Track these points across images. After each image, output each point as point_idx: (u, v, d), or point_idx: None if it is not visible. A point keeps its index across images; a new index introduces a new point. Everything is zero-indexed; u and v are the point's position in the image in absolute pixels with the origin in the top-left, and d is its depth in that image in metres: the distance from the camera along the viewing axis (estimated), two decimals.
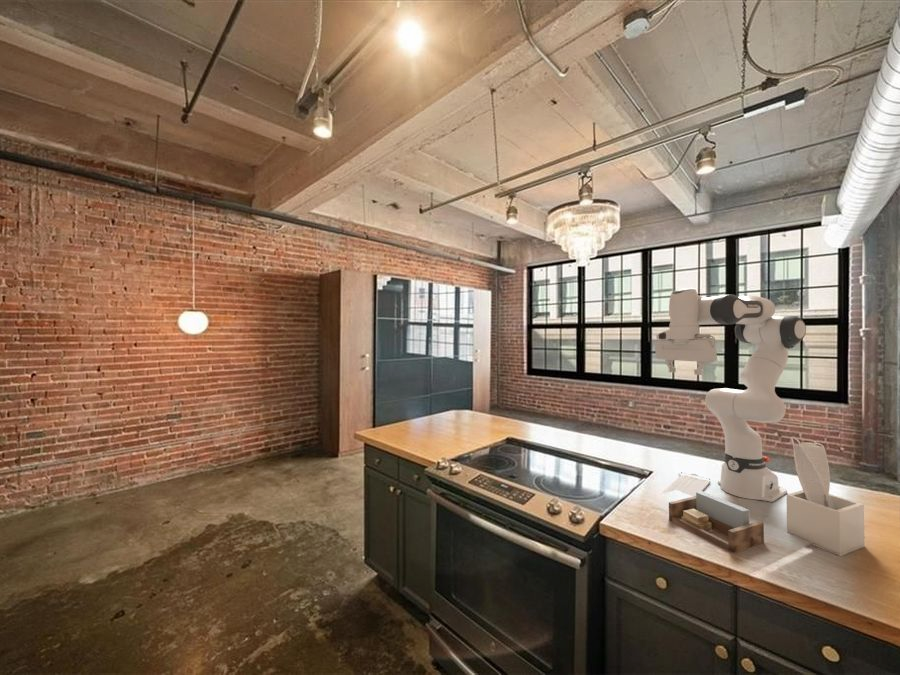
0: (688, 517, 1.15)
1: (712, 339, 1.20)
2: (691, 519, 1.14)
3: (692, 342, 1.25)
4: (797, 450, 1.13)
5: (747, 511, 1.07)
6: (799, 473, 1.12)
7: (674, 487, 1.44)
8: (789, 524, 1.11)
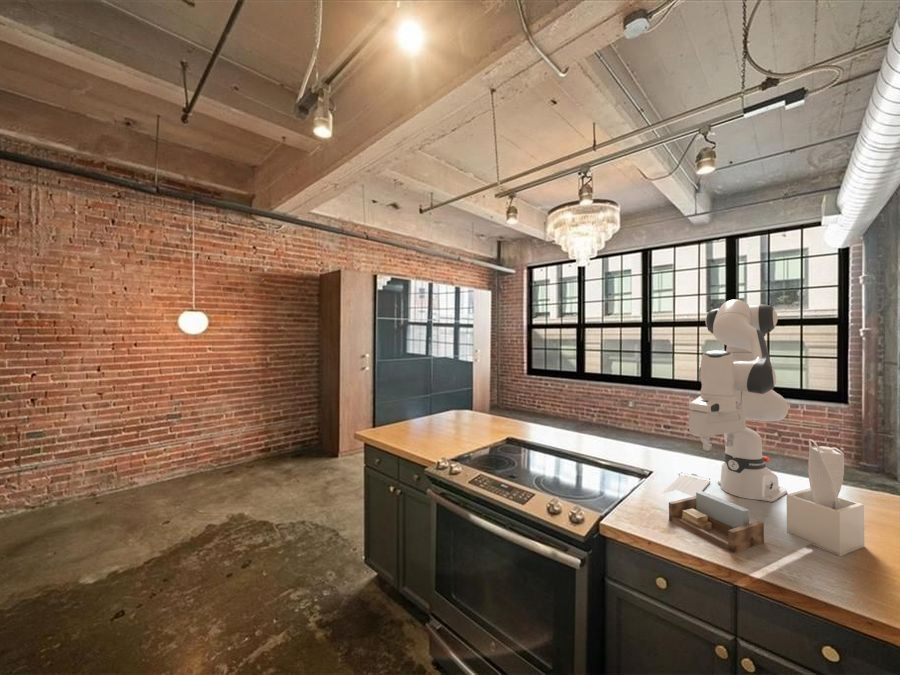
0: (687, 517, 1.15)
1: (741, 406, 1.16)
2: (690, 519, 1.14)
3: (733, 411, 1.13)
4: (813, 454, 1.09)
5: (747, 511, 1.07)
6: (811, 476, 1.09)
7: (674, 487, 1.44)
8: (789, 524, 1.11)
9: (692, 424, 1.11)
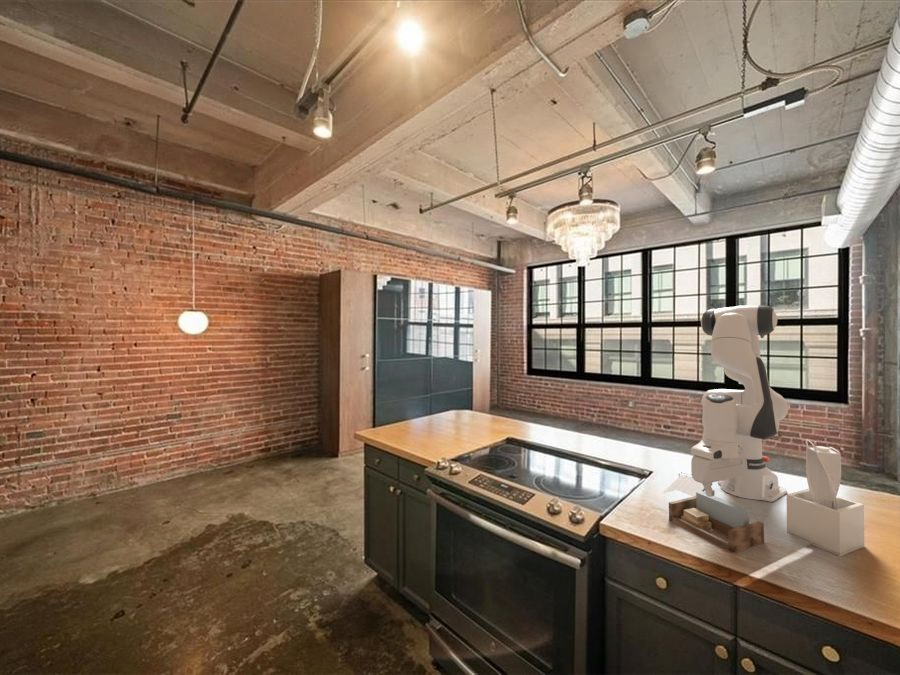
0: (688, 516, 1.15)
1: (742, 450, 1.16)
2: (691, 518, 1.14)
3: None
4: (810, 454, 1.09)
5: (747, 511, 1.07)
6: (809, 476, 1.09)
7: (674, 487, 1.44)
8: (789, 524, 1.11)
9: (695, 470, 1.10)
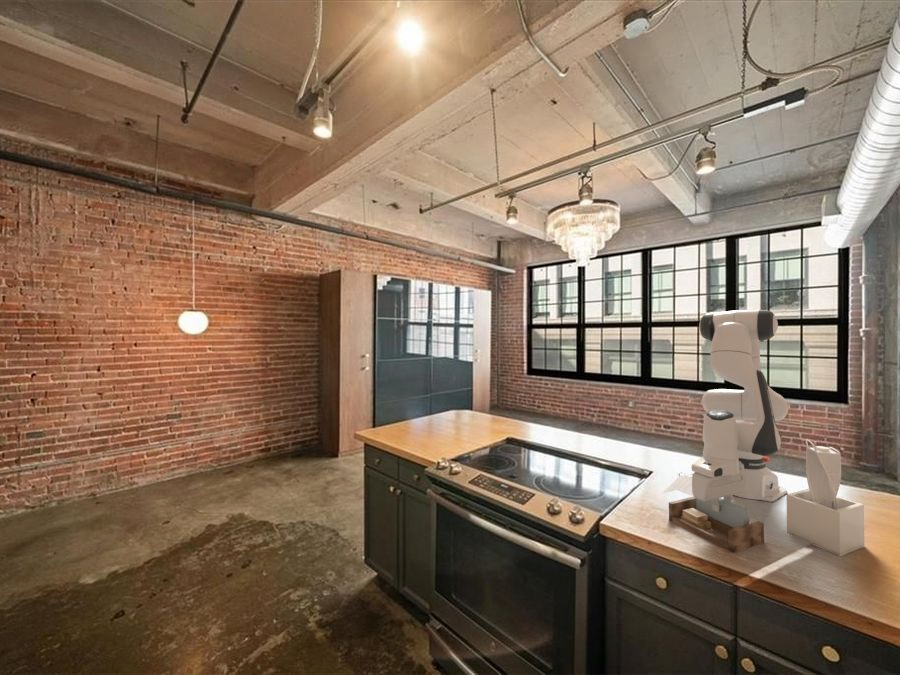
0: (687, 516, 1.15)
1: (743, 466, 1.16)
2: (690, 518, 1.14)
3: None
4: (810, 454, 1.09)
5: (747, 511, 1.07)
6: (809, 476, 1.09)
7: (674, 487, 1.44)
8: (789, 524, 1.11)
9: (695, 487, 1.10)
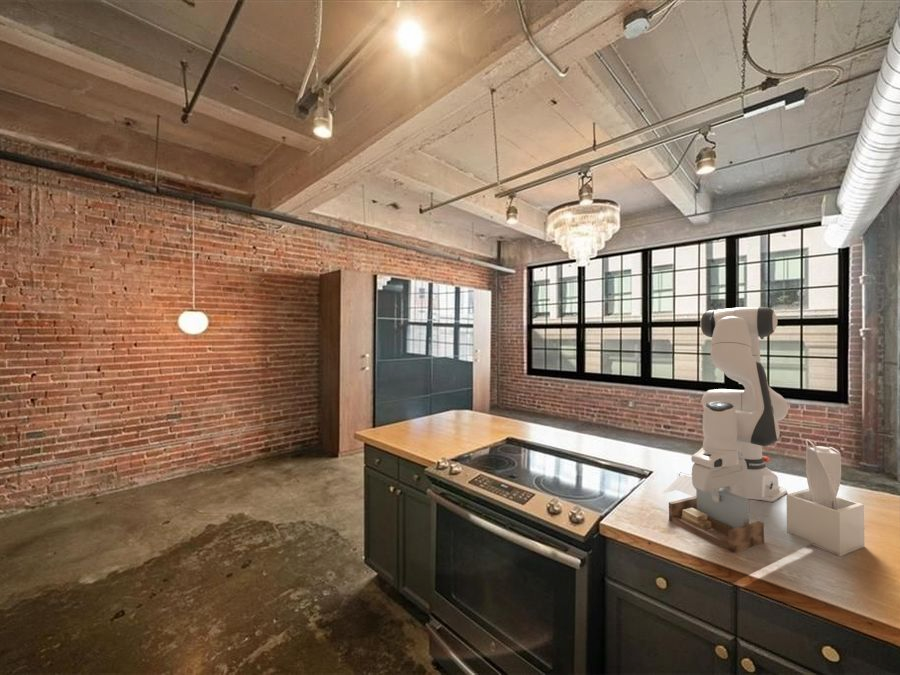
0: (687, 516, 1.15)
1: (743, 456, 1.16)
2: (690, 518, 1.14)
3: None
4: (810, 454, 1.09)
5: (747, 501, 1.07)
6: (809, 476, 1.09)
7: (674, 487, 1.44)
8: (789, 524, 1.11)
9: (695, 478, 1.10)
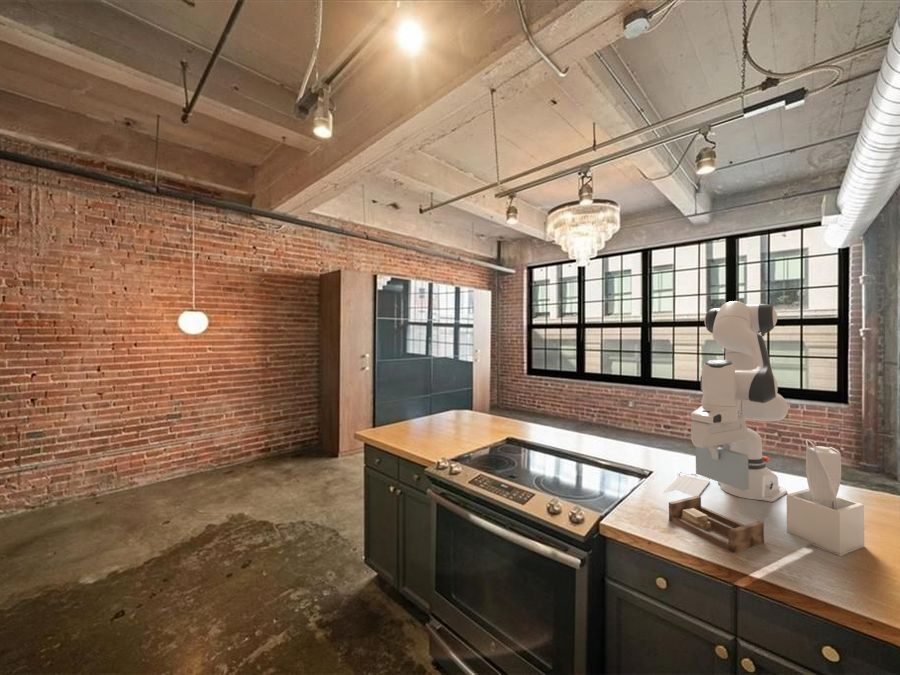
0: (687, 516, 1.15)
1: (742, 415, 1.16)
2: (690, 518, 1.14)
3: (734, 421, 1.12)
4: (810, 454, 1.09)
5: (746, 456, 1.06)
6: (809, 476, 1.09)
7: (674, 487, 1.44)
8: (789, 524, 1.11)
9: (694, 435, 1.10)
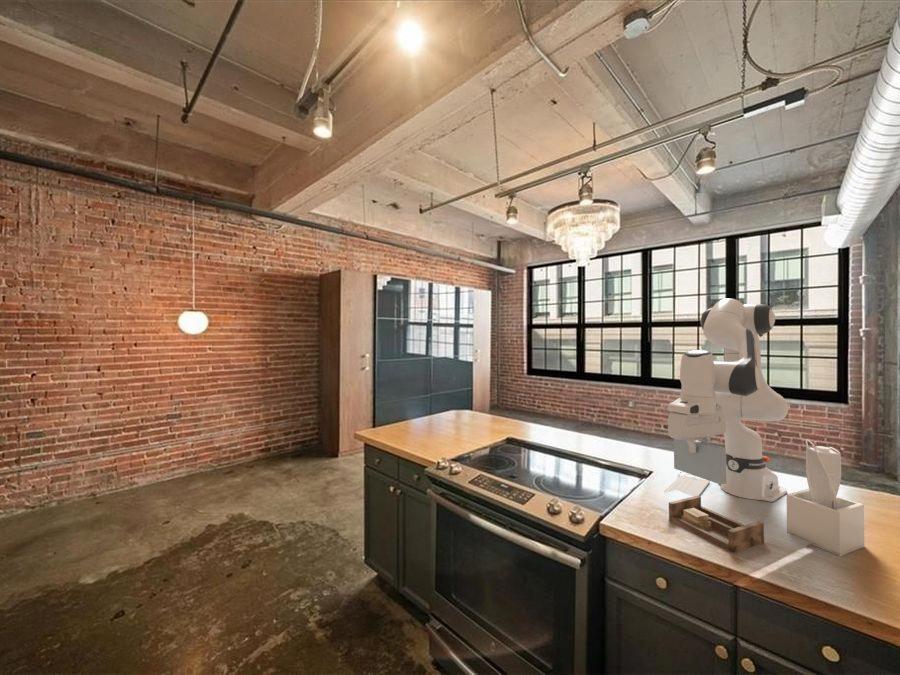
0: (688, 516, 1.15)
1: (721, 408, 1.12)
2: (691, 518, 1.14)
3: (713, 413, 1.09)
4: (810, 454, 1.09)
5: (724, 449, 1.03)
6: (809, 476, 1.09)
7: (674, 487, 1.44)
8: (789, 524, 1.11)
9: (671, 426, 1.07)
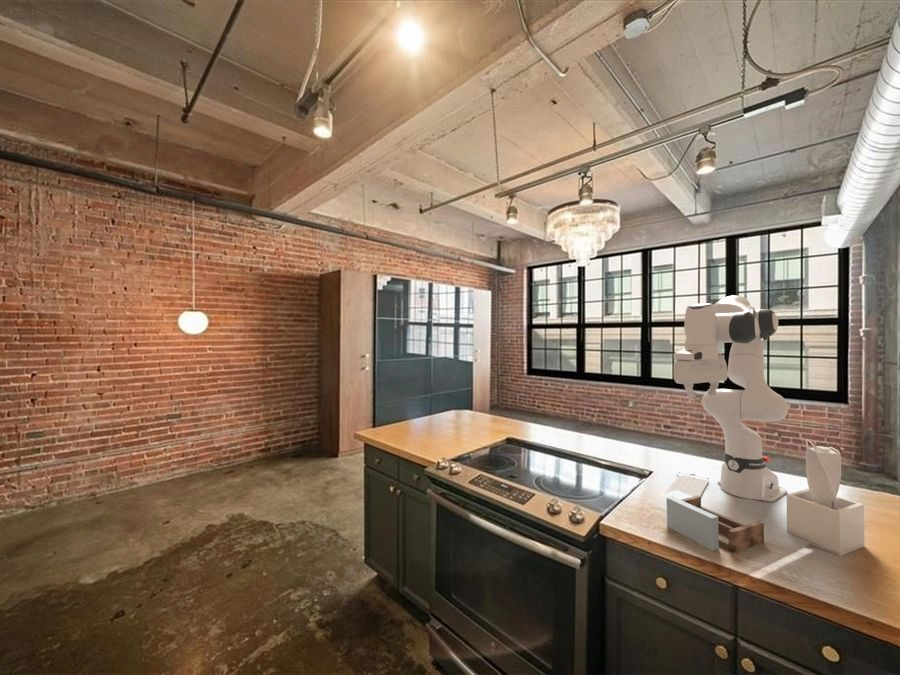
0: None
1: (723, 357, 1.22)
2: None
3: (715, 361, 1.18)
4: (810, 454, 1.09)
5: (716, 518, 1.02)
6: (809, 476, 1.09)
7: (675, 488, 1.43)
8: (789, 524, 1.11)
9: (677, 373, 1.16)
